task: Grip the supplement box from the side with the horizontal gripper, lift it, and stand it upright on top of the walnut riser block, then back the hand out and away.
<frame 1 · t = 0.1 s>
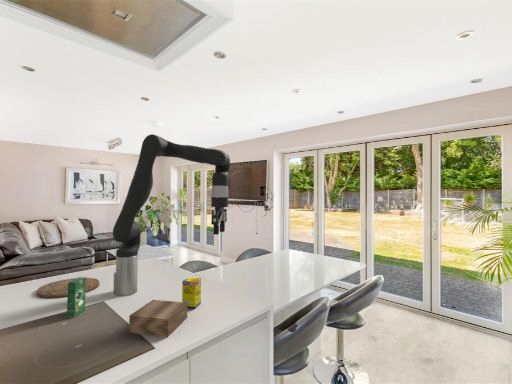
hand: (219, 233, 119), 29 cm above the counter, tool pointing down, fingers open, 8 cm apart
trivet: (69, 289, 131), on the counter
coffee box: (76, 314, 104), on the counter
walnut riser block: (159, 325, 96), on the counter
supplement box: (191, 306, 112), on the counter
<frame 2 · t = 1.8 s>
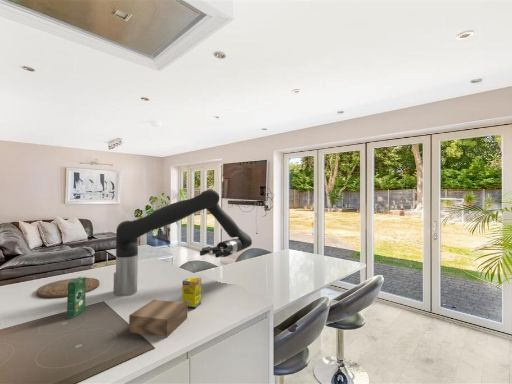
hand: (208, 254, 123), 19 cm above the counter, tool horizontal, fingers open, 8 cm apart
nothing on the counter moved.
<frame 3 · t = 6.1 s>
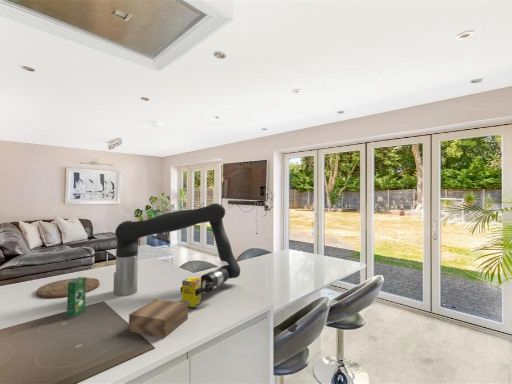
hand: (188, 291, 111), 7 cm above the counter, tool horizontal, fingers closed on supplement box, 7 cm apart
supplement box: (191, 305, 112), on the counter, touching gripper
everything else where it was.
when the fingers open (14 cm above the counter, at t = 11.5 s): supplement box drops 2 cm, resting on walnut riser block.
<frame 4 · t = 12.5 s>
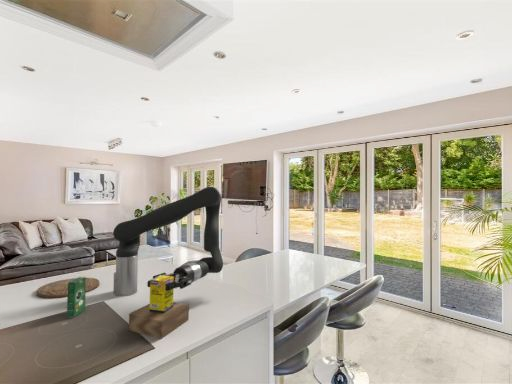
hand: (157, 286, 94), 14 cm above the counter, tool horizontal, fingers open, 8 cm apart
walnut riser block: (159, 326, 95), on the counter, touching supplement box
supplement box: (161, 309, 95), point 5 cm above the counter, touching gripper, walnut riser block
everything else where it was.
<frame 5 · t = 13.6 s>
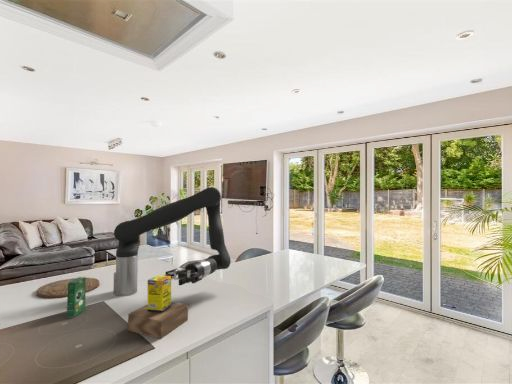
hand: (170, 280, 100), 14 cm above the counter, tool horizontal, fingers open, 8 cm apart
supplement box: (159, 309, 96), point 5 cm above the counter, touching walnut riser block
everything else where it was.
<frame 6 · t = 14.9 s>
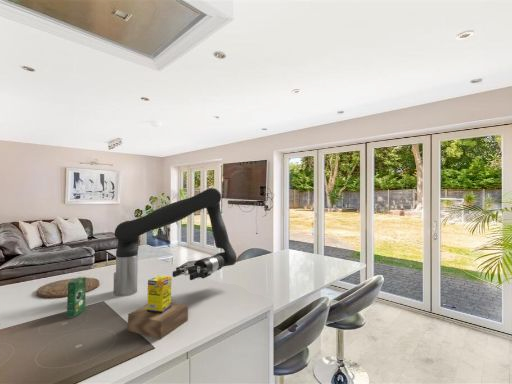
hand: (181, 276, 106), 14 cm above the counter, tool horizontal, fingers open, 8 cm apart
nothing on the counter moved.
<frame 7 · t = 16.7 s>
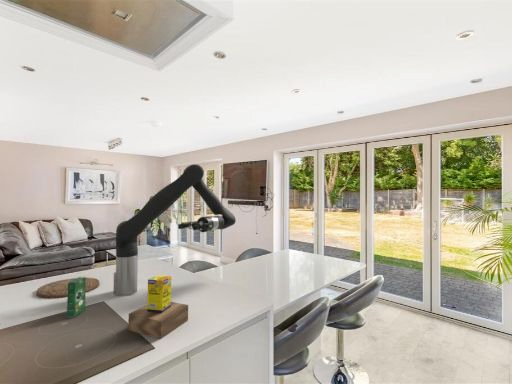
hand: (186, 227, 121), 31 cm above the counter, tool horizontal, fingers open, 8 cm apart
nothing on the counter moved.
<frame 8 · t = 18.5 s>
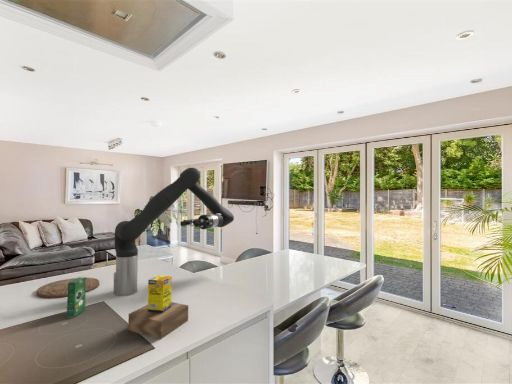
hand: (188, 224, 128), 32 cm above the counter, tool horizontal, fingers open, 8 cm apart
nothing on the counter moved.
at the end: supplement box inside the target area on the walnut riser block (0.3 cm from its centre), point 5.9 cm above the walnut riser block's base; supplement box tilted 1°; the gripper is holding nothing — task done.
